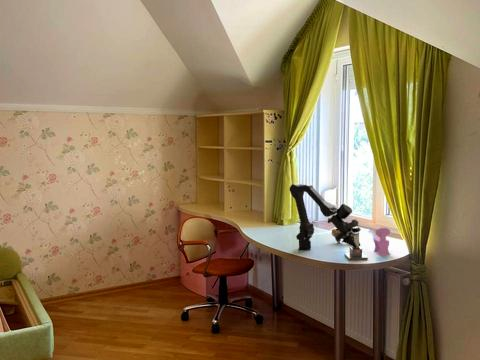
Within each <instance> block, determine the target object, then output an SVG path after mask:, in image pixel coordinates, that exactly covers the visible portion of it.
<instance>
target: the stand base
mask: <svg viewBox="0 0 480 360" xmlns="http://www.w3.org/2000/svg"><path fill="white" fill-rule="evenodd" d="M343 255H344V257H345V258H346V259H347V261H349V262H354V261H355V262H356V261H368V259H369V257H368V256H367V255H366V254H364V252H363V249H362V248H361V247H360V246H359V249H352V246H349V252H348V253H347V252H345V253H344V254H343Z"/></svg>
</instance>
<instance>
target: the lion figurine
mask: <svg viewBox="0 0 480 360" xmlns="http://www.w3.org/2000/svg"><path fill="white" fill-rule="evenodd" d="M336 229H337V228H332V229H331V235H332V236H333V237H334V238H335V237H336V236H337V235H338V234H339V233H340V232H339V231H336ZM341 240H343V238H342V239H341ZM340 243H341V241H340V242H337V244H340Z"/></svg>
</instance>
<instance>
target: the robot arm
mask: <svg viewBox="0 0 480 360" xmlns="http://www.w3.org/2000/svg"><path fill="white" fill-rule="evenodd" d="M288 190H289V191H290V194H291V196H292V198H293V199H294V200H295V201H294V202H295V205H296V209H297V214H298V217H299V223H300V224H299V227H298V228H299V233H298V234H297V235H295V236H296V237H295V238H296V240H298V251H299V250H300V251H310V250H311V248H312V241H311V239H312V237H313V235H314V233H315V227H314V223H311V222H310V221H309V218H308V213H307V209H306V204H305V201H304V194H305V192H306V194H307V195H308V196H309V197H310V198H311V199H312V201H313V202H315V203H316V205H317V206H318V207H319V210H320V212H321V213H322V215H323V216H324V217H325V218H326V217H327V224H330V223H332V225H333V226H334V227H335V229H336V231H339V232H340V233H339V234H338V235H337V236H336V237H334V238H335V241H336V243H338V242H340V243H341V242H342V243H344V244H347V245H349V246H350V247H352V246H353V247H355V248H356V247H357V246H356V244H355V243H354V241H353V240H352V233H353V232H358V233H360V232H361V228H360V227H359V222H360V221H358V220H357V219H356V218H355V219H351V222H348V221H345V220H346V219H347V218H348V217H350V215H351V214H352V213H353V209H352V208H351V207H350V206H349V205H346V204H345V203H341V205H340V206H339V207H336V206H334V204H332V203H331V202H328V201H327V200H325V198H324V197H322V195H321V194H320V193H319V192H318V190H316V189H315V188H314V186H313V184H302V183H300V182H299V183H293V184H290V186H289V189H288ZM342 238H343V239H342ZM341 240H342V241H341ZM360 246H361V243H360V241H359V247H360Z"/></svg>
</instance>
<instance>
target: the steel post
mask: <svg viewBox="0 0 480 360" xmlns="http://www.w3.org/2000/svg"><path fill="white" fill-rule="evenodd" d="M352 240H353V241H354V243H355V244H356V246H357V247H356V248H355V247H353V246H351V247H352V249H359V247H360V246H359V242H360V232H353V233H352Z"/></svg>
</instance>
